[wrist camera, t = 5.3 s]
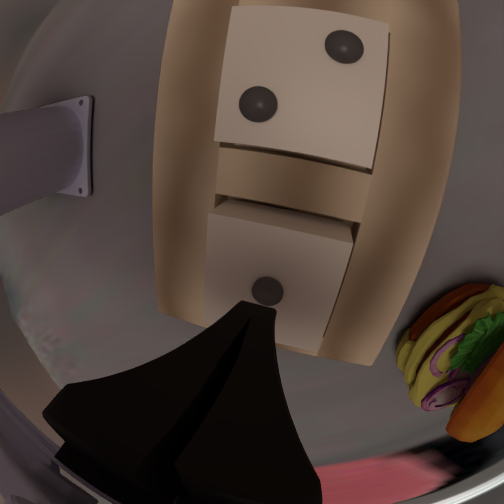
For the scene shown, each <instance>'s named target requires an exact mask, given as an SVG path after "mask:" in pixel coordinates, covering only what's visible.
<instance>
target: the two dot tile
mask: <svg viewBox="0 0 504 504" xmlns="http://www.w3.org/2000/svg"><path fill="white" fill-rule="evenodd" d="M388 31H389V24H387V23H383V22H380V21H376V20H372V19H368V18H364V17H359V16H355V15H350V14H345V13H339V12H333V11H327V10H320V9H312V8H302V7H290V6H266V5H250V6H232V10H231V16H230V22H229V28H228V34H227V40H226V46H225V53H224V60H223V67H222V74H221V82H220V90H219V98H218V107H217V115H216V125H215V134H214V141H219V142H229V143H238V144H246V145H253V146H261V147H268V148H274V149H280V150H286V151H292V152H298V153H303V154H309V155H314V156H319V157H324V158H328V159H333V160H337V161H342V162H346V163H350V164H355V165H359V166H363V167H366V168H370V169H372V164H373V159H374V153H375V148H376V142H377V136H378V130H379V124H380V117H381V110H382V103H383V95H384V86H385V76H386V65H387V51H388Z"/></svg>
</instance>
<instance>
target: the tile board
mask: <svg viewBox="0 0 504 504" xmlns="http://www.w3.org/2000/svg"><path fill="white" fill-rule="evenodd" d="M250 5H266V6H290V7H302V8H312V9H320V10H327V11H333V12H339V13H345V14H350V15H355V16H359V17H364V18H368V19H372V20H376V21H380V22H383V23H387V24H389V31H388V51H387V65H386V76H385V86H384V95H383V103H382V110H381V117H380V124H379V130H378V136H377V142H376V148H375V153H374V159H373V164H372V169H370V168H366V167H363V166H359V165H355V164H350V163H346V162H342V161H337V160H333V159H328V158H324V157H319V156H314V155H309V154H303V153H298V152H292V151H286V150H280V149H274V148H268V147H261V146H253V145H246V144H238V143H229V142H219V141H214V134H215V125H216V115H217V107H218V98H219V90H220V82H221V74H222V67H223V60H224V53H225V46H226V40H227V34H228V28H229V22H230V16H231V10H232V6H250ZM461 70H462V52H461V30H460V18H459V9H458V2H457V0H174V2H173V6H172V10H171V15H170V19H169V24H168V29H167V35H166V40H165V46H164V52H163V58H162V65H161V72H160V80H159V88H158V97H157V107H156V118H155V132H154V149H153V177H152V220H153V249H154V267H155V281H156V292H157V303H158V312H161V313H164V314H166V315H169V316H172V317H175V318H178V319H181V320H184V321H187V322H190V323H193V324H196V325H199V326H203V327H206V328H208V327H209V326H211V325H209V324H206V323H204V290H205V261H206V240H207V222H208V213H209V212H210V211H211V210H213V209H214V208H216V207H217V206H219V205H220V204H221V203H223V202H224V201H226V200H227V199H232V200H238V201H243V202H249V203H254V204H259V205H264V206H270V207H275V208H280V209H284V210H289V211H294V212H299V213H304V214H308V215H313V216H317V217H322V218H326V219H331V220H335V221H339V222H344V223H348V224H349V226H350V230H351V235H352V240H353V247H352V250H351V253H350V257H349V260H348V264H347V267H346V270H345V273H344V277H343V280H342V283H341V286H340V289H339V292H338V295H337V298H336V301H335V304H334V307H333V310H332V312H331V315H330V318H329V321H328V323H327V326H326V329H325V332H324V334H323V337H322V339H321V342H320V345H319V347H318V350H317V352H314V351H309V350H305V349H300V348H296V347H291V346H287V345H283V344H279V343H275V345H276V347H278V348H282V349H286V350H291V351H295V352H299V353H304V354H308V355H313V356H318V357H323V358H328V359H333V360H338V361H344V362H349V363H355V364H361V365H367V366H372V364H373V362H374V361H375V359H376V357H377V355H378V354H379V352H380V350H381V348H382V347H383V345H384V343H385V341H386V339H387V337H388V336H389V334H390V332H391V330H392V328H393V326H394V324H395V322H396V320H397V318H398V316H399V314H400V312H401V310H402V308H403V305H404V303H405V301H406V299H407V297H408V294H409V292H410V290H411V288H412V285H413V283H414V281H415V278H416V276H417V273H418V271H419V268H420V266H421V263H422V260H423V258H424V255H425V252H426V250H427V247H428V244H429V241H430V238H431V235H432V232H433V229H434V226H435V223H436V220H437V216H438V213H439V210H440V206H441V202H442V199H443V195H444V191H445V187H446V183H447V179H448V174H449V170H450V165H451V160H452V155H453V149H454V144H455V137H456V131H457V123H458V115H459V105H460V93H461Z"/></svg>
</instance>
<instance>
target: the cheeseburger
mask: <svg viewBox="0 0 504 504" xmlns="http://www.w3.org/2000/svg"><path fill="white" fill-rule="evenodd" d="M396 361H397V366H398V368H399V369H400V370H401V371H402V372H403V373H404V379H405V382H406V384H407V385H408V386H409V392H408V395H409V398H410V399H411V400H412V401H413V403H414V405H416V406H418V407H420V408H422V409H423V410H425V411H436V410H440V409H442V408H445V407H450V406H454V405H455V407H454V409H453V411H452V413H451V416H450V420H449V422H448V424H447V426H446V431H447V432H448V434H449V435H450V436H452V437H454V438H456V439H458V440H460V441H465V442H474V441H476V440H478V439H481V438H483V437H485V436H487V435H490V434H491V433H493V432H494V431H496V430H497V429H499V428H500V427H501V426H502V424H503V423H504V288H503V287H500V286H496V285H494V284H492V285H490V286H489V285H487V284H468V283H467V284H465V285H463V286H461V287H460V288H458V289H456V290H454V291H451V292H449V293H447V294H446V295H445V296H444V297H442V298H441V299H440V300H439V301H437V302H436V303H435V304H433V305H432V306H431V307H429V308H428V309H427V310H426V311H425V312H424V313H423V314H422V316H421V317H420V318H419V319H418V320H417V321H416V322H415V323H414V325H413V326H412V327H411V328H409V329H408V330H407V331H406V332H405V333H404V335H403V337H402V338H401V340H400V342H399V345H398V347H397V350H396Z"/></svg>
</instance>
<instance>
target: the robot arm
mask: <svg viewBox="0 0 504 504" xmlns="http://www.w3.org/2000/svg"><path fill="white" fill-rule="evenodd" d="M91 115H92V97H91V96H82V97H77V98H73V99H69V100H65V101H61V102H57V103H53V104H50V105H46V106H43V107H40V108H36V109H28V110H21V111H15V112H9V113H3V114H0V216H1V215H3V214H5V213H8V212H10V211H12V210H14V209H16V208H19V207H21V206H23V205H26V204H28V203H30V202H33V201H35V200H37V199H40V198H42V197H45V196H47V195H50V194H53V193H61V194H67V195H73V196H80V197H88V196H90V195H91V172H90V136H91ZM276 315H277V311H276V309H275V308H271V307H267V306H263V305H259V304H255V303H251V302H247V301H243V300H242V301H240V302H238V303H237V304H236V305H235V306H234V307H233V308H232V309H231V310H229V311H228V312H227V313H226V314H225V315H223V316H222V317H221V318H220V319H219V320H217V321H216V322H215V323H213V324H212V325H211V326H209V327H208V328H207V329H206V330H204V331H203V332H201V333H200V334H198V335H197V336H195V337H194V338H192V339H191V340H189V341H188V342H186V343H185V344H183V345H181V346H180V347H178V348H176V349H174V350H172V351H171V352H169V353H167V354H165V355H163V356H161V357H159V358H157V359H154V360H152V361H150V362H148V363H145V364H143V365H141V366H138V367H135V368H133V369H130V370H127V371H124V372H120V373H117V374H114V375H111V376H107V377H103V378H99V379H94V380H89V381H84V382H78V383H71V384H67V385H66V386H65V387H64V388H63V389H62V390H61V391H60V392H59V393H58V394H57V395H56V397H55V398H54V399H53V400H52V401H51V402H50V403H49V405H48V406H47V407H46V408H45V409H44V411H43V412H42V413H43V417H44V419H45V420H46V421H47V423H48V424H49V425H50V426H51V427H52V428H53V429H54V430H55V431H56V433H58V435H59V436H60V437H61V438H62V439H63V440H64V441H65V442H64V444H63V445H62V446H61V448H60V447H59V446H58V445H56V444H55V443H54V442H53V441H51V440H50V439H49V438H48V437H47V436H46V435H45V434H44V433H42V432H41V431H40V430H39V429H38V428H37V427H36V426H35V425H34V424H33V423H32V422H31V421H30V420H29V419H28V418H27V417H26V416H25V415H24V414H23V413H22V412H21V411H20V410H19V409H18V408H17V407H16V406H15V405H14V404H13V403H12V401H11V400H10V399H9V398H8V397H7V396H6V395H5V394H4V392H3V391H2V390H1V389H0V494H1V495H2V497H3V498H4V500H5V502H4V504H97V503H98V500H97V499H95V498H94V497H93V496H91V495H90V494H88V493H87V492H86V491H85V490H83V489H82V488H80V487H79V486H77V485H76V484H74V483H73V482H71V481H70V480H69V479H67V478H66V477H64V476H63V475H62V474H61V473H60V468H59V466H60V467H61V468H62V469H63V470H64V471H66V472H67V473H69V474H70V475H71V476H72V477H74V478H75V479H76V480H78V481H79V482H81V483H82V484H83V485H85V486H86V487H87V488H89V489H90V490H92V491H93V492H95V493H97V494H98V495H100V496H101V497H103V498H104V499H106V500H107V501H109V502H111V503H112V504H322V490H321V483H320V479H319V477H318V475H317V474H316V472H315V470H314V468H313V466H312V464H311V462H310V460H309V458H308V456H307V454H306V452H305V450H304V448H303V446H302V443H301V441H300V439H299V436H298V434H297V431H296V428H295V426H294V423H293V420H292V418H291V415H290V412H289V409H288V406H287V402H286V399H285V395H284V392H283V388H282V383H281V379H280V374H279V368H278V362H277V355H276V345H275V319H276Z"/></svg>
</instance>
